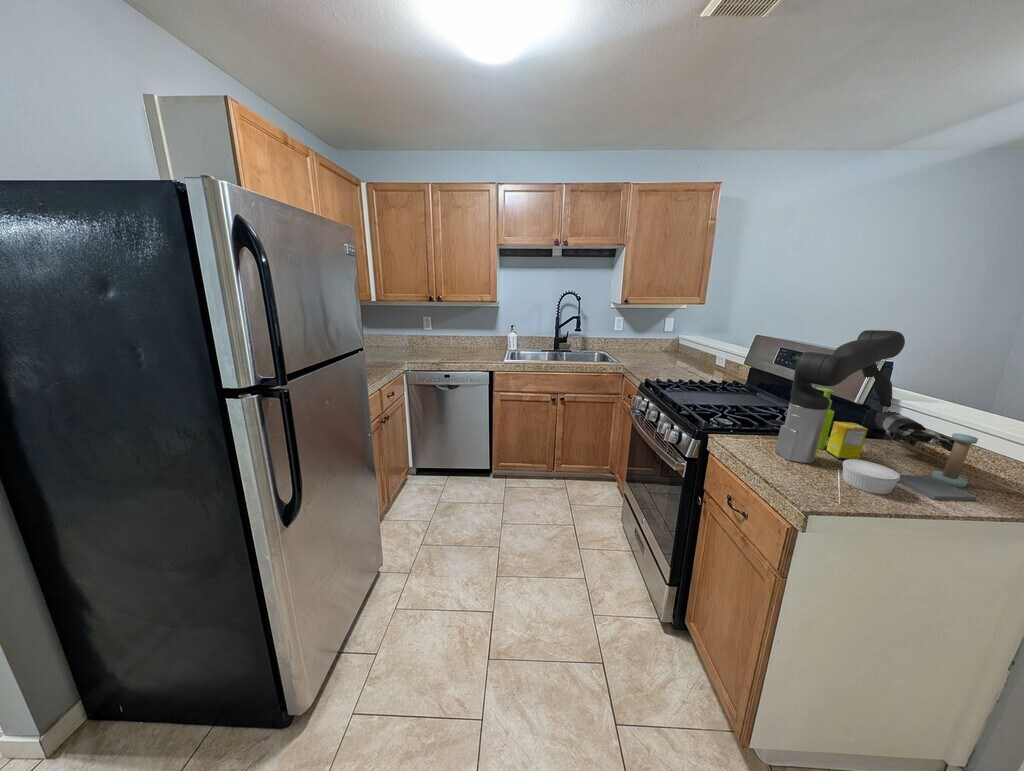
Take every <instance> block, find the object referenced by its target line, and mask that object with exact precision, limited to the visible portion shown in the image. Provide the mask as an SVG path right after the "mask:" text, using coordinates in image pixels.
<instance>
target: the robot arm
mask: <svg viewBox="0 0 1024 771" xmlns="http://www.w3.org/2000/svg"><path fill="white" fill-rule="evenodd" d="M905 342H906V340H905V336H904V334H902V333H901V332H899V331H897V330H881V329H880V330H879V329H877V330H875V329H874V330H873V329H871V330H863V331H862V332H860V333H859V335H858V336H857V339H856V340H852V341H848V342H846V343H844V344H841V345H840V346H838V347H837V348H836V349H834V352H833V354H829V353H823V352H814V351H805V352H803V353H802V354H801V355H800V356H799V357H798V359H797V362H796V364H795V368H794V373H793V380H792V386H791V389H790V400H789V404H788V408H787V412H786V416H785V421H784V424H781V425H780V428H779V433H778V436H777V437H778V438H777V441H776V445H775V450H774V453H776V454H777V455H779V456H780V457H782V458H784V459H785V460H787V461H793V462H796V463H802V464H813V463H814V462H815V458H816V455H817V452H818V449H817V448H818V444H819V441H820V437H821V433H822V430H823V426H824V422H825V419H826V415H827V411H828V408H829V404H830V401H829V399H830V398H829V399H828V398H827V397H825V396H823V395H824V394H822V393H820V392H818V390H817V389H815V388H814V387H813V385H816V386H823V387H835V386H837V385H839V384H840V383H842V382H843V381H845V380H846V379H847V378H848V377H850V376H851V375H853V374H855V373H857V372H859V371H861V373H862V375H864V376H863V378H864V377H867V378H868V377H873V376H874V378H875V380H876V381H875V383H876V384H875V392H876V393H877V395H878V396H879V400H880V404H881V405H882V406H887V407H890V406H891V399H892V398H893V382H892V381H891V380H890V381H889V379H890V378H889V376H888V375H887V373H885V372H884V373H882V372H880V371H879V370H878V368H877V365H878V364H877V363H878V362H880V361H883V360H884V361H885V360H887V359H892V358H894V357H896V356H898V355H899V354H900V353H901V352H902V351H903V349H904V347H905ZM888 381H889V383H888ZM875 422H876V425H877V426H878V427H879V428H878V429H882V430H884V431H886V432H885V435H886V436H888V437H889V438H890V439H892V440H893V441H898V440H899V441H900V442H902V443H904V444H905V443H906V444H908V445H909V446H911V447H915V446H916V443H919V444H924V445H928V446H932V447H936V446H937V447H940V448H943V449H944V450H946V451H948V452H951V450H952V448H953V445H954V442H955V440H954V439H952V438H951V437H949V436H947V435H945V434H943V433H939V434H934V433H930V432H929V431H927V430H926V429H927V428H926V427H925V426H924V425H923V424H921V423H919V422H917V421H915V420H914V419H911V418H910V417H908V416H905V415H903V414H901V413H900V412H899V413H896V412H890V411H888V412H877V414H876V417H875ZM944 435H945V436H944ZM946 436H947V437H946ZM930 441H931V442H930Z"/></svg>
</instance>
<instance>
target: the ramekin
mask: <svg viewBox="0 0 1024 771" xmlns="http://www.w3.org/2000/svg"><path fill="white" fill-rule="evenodd" d="M900 475H901V474H899V472H897V471H895V470H893V469H892V468H889V467H887V466H885V465H881V464H880V463H875V462H871V461H868V460H864V459H859V460H856V459H849V460H843V462H842V479H843V482H845V483H846V484H847V485H849V486H851V487H853V488H855V489H857V490H860V491H863V492H865V493H869V494H870V493H871V494H874V495H886V494H889V493H891V492H892V491H893V489H894V487H895V486H896V485H897V483H898V482H897V481H899V480H900Z"/></svg>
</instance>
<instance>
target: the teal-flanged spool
mask: <svg viewBox="0 0 1024 771" xmlns="http://www.w3.org/2000/svg"><path fill="white" fill-rule="evenodd" d="M950 438H951V439H953V440H955V442H954V445H953V448H952V450H951V451H950V453H949V456H948V459H947V461H946V464H945V467H944V470H943V471H938V470H935V471H932V474H931V476H930V477H932V478H934V479H937V480H939V481H941V482H944V483H946V484H948V485H950V486H953V487H955V488H957V489H960V488H961V489H966V487H967V485H968V479H966V478H964V477H962V476H960V474H961V471H962V469H963V466H964V463H965V461H966V459H967V456H968V453H969V451H970V448H971V445H972V444H974V445H975V444H977V443H978V440H979V438H978V437H975V436H972V435H970V434H964V433H958V432H957V433H956V432H954V433H952V436H951V437H950Z"/></svg>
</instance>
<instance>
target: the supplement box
mask: <svg viewBox="0 0 1024 771" xmlns="http://www.w3.org/2000/svg"><path fill="white" fill-rule="evenodd" d="M867 433H868V428H866V427H864V426H862V425H860V424H858V423H855V422H849V421H848V422H847V421H836V420H835V421H833V424H832V428H831V432H830V435H829V440H828V443H827V448H826V450H825V453H826V452H827V453H826V454H827V455H829V456H831V457H833V458H834V459H836V460H839V461H845V460H849V459H856V460H860V457H861V455H862V454H861V453H862V451H863V448H864V444H865V440H866V436H867Z"/></svg>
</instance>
